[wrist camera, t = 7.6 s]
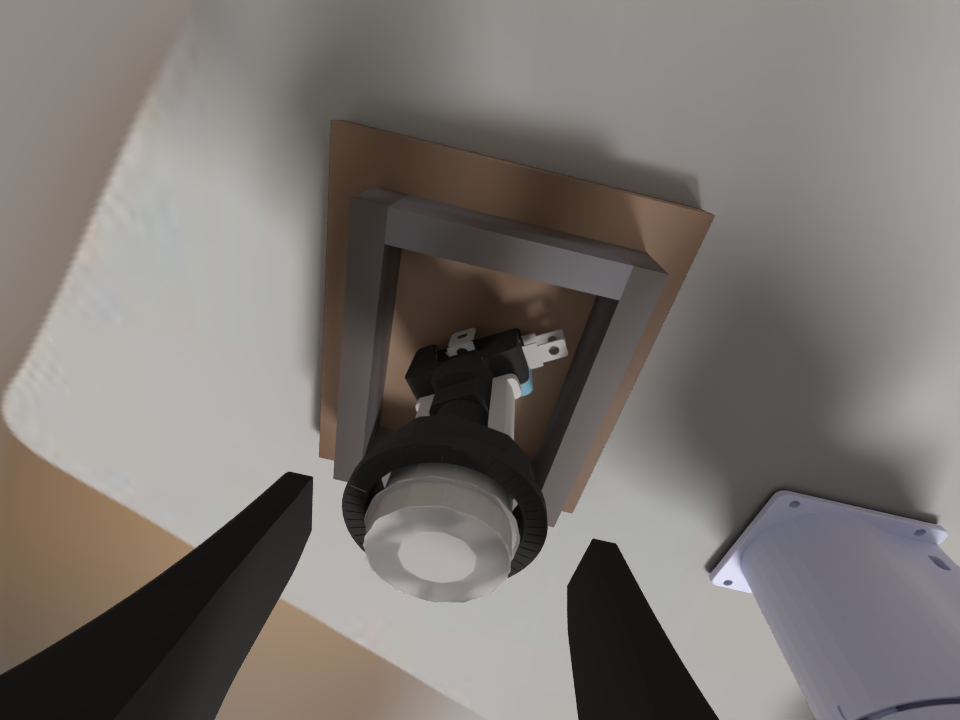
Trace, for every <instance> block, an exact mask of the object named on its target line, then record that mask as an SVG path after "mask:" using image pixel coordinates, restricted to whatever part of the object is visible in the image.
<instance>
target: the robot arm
mask: <svg viewBox="0 0 960 720" xmlns="http://www.w3.org/2000/svg"><path fill="white" fill-rule="evenodd" d="M312 496H313V477H311V476H307V475H302V474H298V473H293V472H287V473H285V474H284V475H283V476H282V477H280V478H279V479H278V480H277V481H276V482H275V483H274V484H273V485H271V486H270V487H269V488H268V489H267V490H266V491H265V492H264V493H262V494H261V495H260V496H259V497H258V498H257V499H256V500H254V501H253V502H252V503H251V504H250V505H248V506H247V507H246V508H245V509H244V510H243V511H241V512H240V513H239V514H238V515H237V516H235V517H234V518H233V519H232V520H230V521H229V522H228V523H227V524H226V525H224V526H223V527H222V528H221V529H219V530H218V531H217V532H216V533H214V534H213V535H212V536H211V537H209V538H208V539H207V540H206V541H204V542H203V543H202V544H200V545H199V546H198V547H197V548H195V549H194V550H193V551H191V552H190V553H188V554H187V555H186V556H184V557H183V558H182V559H181V560H179V561H178V562H176V563H175V564H174V565H172V566H171V567H170V568H168V569H167V570H166V571H164V572H163V573H162V574H160V575H159V576H158V577H156V578H155V579H153V580H152V581H150V582H149V583H147V584H146V585H145V586H143V587H142V588H140V589H139V590H137V591H136V592H134V593H133V594H131V595H130V596H129V597H127V598H125V599H124V600H123V601H121V602H119V603H118V604H117V605H115V606H114V607H112V608H110V609H109V610H107V611H106V612H104V613H103V614H101V615H100V616H98V617H96V618H95V619H93V620H92V621H90V622H89V623H87V624H85V625H84V626H82V627H81V628H79V629H77V630H76V631H74V632H73V633H71V634H69V635H67V636H66V637H64V638H63V639H61V640H60V641H58V642H56V643H55V644H53V645H51V646H50V647H48V648H46V649H45V650H43V651H41V652H40V653H38V654H36V655H35V656H33V657H31V658H29V659H28V660H26V661H24V662H23V663H21V664H19V665H17V666H16V667H14V668H12V669H10V670H8V671H7V672H5V673H3V674H1V675H0V720H214V719H215V717H216V715H217V713H218V711H219V709H220V707H221V704H222V702H223V700H224V698H225V696H226V694H227V692H228V689H229V688H230V686H231V684H232V682H233V680H234V678H235V676H236V674H237V672H238V670H239V668H240V667H241V665H242V663H243V661H244V659H245V658H246V656H247V654H248V652H249V651H250V649H251V647H252V645H253V644H254V642H255V640H256V638H257V637H258V635H259V633H260V631H261V629H262V628H263V626H264V624H265V622H266V620H267V619H268V617H269V615H270V613H271V612H272V610H273V608H274V606H275V605H276V603H277V601H278V599H279V597H280V596H281V594H282V592H283V590H284V588H285V587H286V585H287V583H288V581H289V579H290V578H291V576H292V574H293V572H294V570H295V568H296V565H297V563H298V561H299V559H300V556H301V554H302V552H303V550H304V547H305V545H306V542H307V540H308V538H309V535H310V533H311V531H312ZM947 536H948V532H947V531H946V530H945V529H944V528H943V527H942V526H940V525H936V524H932V523H927V522H923V521H918V520H914V519H910V518H905V517H901V516H896V515H892V514H888V513H883V512H879V511H874V510H870V509H866V508H861V507H857V506H852V505H848V504H844V503H839V502H835V501H830V500H826V499H822V498H817V497H813V496H808V495H804V494H800V493H795V492H791V491H784V490H783V491H779V492H776V493H775V494H774V495H773V496H772V497H771V499H770V500H769V501H768V502H767V504H766V505H765V506H764V507H763V509H762V510H761V511H760V512H759V514H758V515H757V516H756V517H755V519H754V520H753V521H752V522H751V524H750V525H749V526H748V527H747V529H746V530H745V531H744V532H743V534H742V535H741V536H740V537H739V539H738V540H737V541H736V542H735V544H734V545H733V546H732V547H731V549H730V550H729V551H728V552H727V554H726V555H725V556H724V557H723V559H722V560H721V561H720V562H719V563H718V565H717V566H716V567H715V568H714V570H713V571H712V572H711V573H710V575H709V578H710V580H711V583H712V584H714V585H717V586H721V587H726V588H731V589H735V590H740V591H744V592H749V593H753V595H754V597H755V599H756V601H757V603H758V605H759V607H760V609H761V611H762V613H763V615H764V617H765V619H766V621H767V623H768V625H769V627H770V629H771V631H772V633H773V635H774V637H775V639H776V641H777V643H778V645H779V647H780V649H781V651H782V653H783V655H784V657H785V659H786V661H787V663H788V665H789V667H790V669H791V671H792V673H793V675H794V677H795V679H796V681H797V683H798V685H799V687H800V689H801V691H802V693H803V695H804V697H805V699H806V701H807V703H808V705H809V707H810V709H811V711H812V713H813V715H814V717H815V719H816V720H960V568H959V567H958V566H957V565H956V564H955V563H954V562H953V561H952V560H951V559H950V558H949V557H948V556H947V555H946V554H945V553H944V552H943V551H942V550H941V549H940V548H939V547H938V546H937V545H939V544H940V543H941V542H942V541H943V540H944V539H946V537H947ZM567 617H568V636H569V645H570V654H571V662H572V671H573V679H574V687H575V695H576V703H577V711H578V719H579V720H719V719H718V717H717V716H716V714H715V713H714V711H713V710H712V708H711V707H710V705H709V704H708V702H707V701H706V699H705V697H704V696H703V694H702V693H701V691H700V690H699V688H698V687H697V685H696V683H695V682H694V680H693V679H692V677H691V675H690V674H689V672H688V671H687V669H686V667H685V666H684V664H683V663H682V661H681V659H680V658H679V656H678V654H677V653H676V651H675V649H674V648H673V646H672V644H671V642H670V641H669V639H668V637H667V635H666V634H665V632H664V630H663V629H662V627H661V625H660V623H659V622H658V620H657V618H656V616H655V615H654V613H653V611H652V609H651V607H650V606H649V604H648V602H647V600H646V598H645V596H644V595H643V593H642V591H641V589H640V587H639V585H638V584H637V582H636V580H635V578H634V576H633V574H632V572H631V570H630V569H629V567H628V565H627V563H626V561H625V559H624V557H623V555H622V553H621V552H620V550H619V548H618V546H617V545H616V544H615V543H611V542H606V541H602V540H597V539H592V541H591V543H590V545H589V547H588V548H587V550H586V552H585V554H584V556H583V558H582V560H581V561H580V563H579V565H578V567H577V569H576V571H575V573H574V574H573V576H572V578H571V580H570V582H569V584H568V586H567Z"/></svg>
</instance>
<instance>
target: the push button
mask: <svg viewBox="0 0 960 720" xmlns="http://www.w3.org/2000/svg"><path fill="white" fill-rule="evenodd" d="M475 332H476V329H475V328H469V329H466V330H463V331H459V332H456V333H454V334H453V335H452V336H451V339H450V342H449V345H448V346H449V348H446V349H443V350H440V351H439V349H438V347H437V345H429V346H426V347H423V348H421V349H419V350H418V351H417V352H416V353H415V356H414V358H413V360H412V362H411V364H410V366H409V369H408V371H407V373H406V375H405V379H406V381H407V383H408V385H409V387H410V389H411V391H412V393H413V395H414V396H415V398H416V400H417V404H416V406H415V407H416V410H417V414H416V417H415V419H413V420H412V421H410V422H409V423H407V424H405V425H404V426H402V427H401V428H399V429H397V430H396V431H394V432H393V433H391V434H390V435H388V436H386V437H385V438H383V439H382V440H380V441H379V442H377V443H376V444H375V446H374V448H373V450H372V452H370V453H369V454H368V455H366V456H365V457H364V458H363V459H362V460H361V461H360V462H359V464H358V465H357V466H356V468H355V469H354V471H353V473H352V475H351V477H350V479H349V481H348V483H347V485H346V488H345V490H344V494H343V499H342V511H343V517H344V521H345V524H346V526H347V529H348V531H349V533H350V534H351V536H352V538H353V539H354V540H355V542H356V543H357V544H358V546H359V547H360V548H361V549H362V550H363V551H364V552H365V558H366V560H367V562H368V563H369V564H370V567H371V570H373V571H374V572H375V573H376V574H377V575H378V577H379V578H380V579H381V580H383V581H384V582H386V583H387V584H389V585H390V586H392V587H393V588H394V589H395V590H398V591H400V592H402V593H403V594H406V595H409V596H413V597H417V598H420V599H423V600H426V601H431V602H467V601H470V600H473V599H476V598H479V597H483V596H486V595H489V594H491V593H492V592H494V591H495V590H496V589H497V587H499V586H500V585H501V584H502V583H503V582H504V581H505V580H506V579H507V578H508V577H511V576H513V575H514V574H516V573H518V572H520V571H521V570H522V569H524V568H525V567H526V566H528V565H529V564H530V563H531V562H532V561H533V560H534V559H535V558H536V557H537V555H538V554H539V552H540V551H541V549H542V547H543V545H544V542H545V539H546V536H547V529H548V521H547V509H546V502H545V499H544V496H543V494H542V491H541V489H540V487H539V486H538V484H537V482H536V481H535V479H534V478H533V477H532V471H531V462H530V459H529V457H528V455H527V454H526V453H525V452H524V451H523V450H522V449H521V448H520V447H519V446H518V444H517V443H516V442H515V441H514V415H515V399H517V398H519V397H521V396H525V395H528V394H530V393H531V392H532V390H533V382H532V369H534V368H538V367H542V366H543V363H544V362H548V361H551V360H555V359H559V358H562V357H566V356H567V355H568V350H567V347H566V341H565V337H564V334H563V331H562V330H561V329H557V330H553V331H550V332H546V333H543V334H540V335H536V334H535V333H531V334H528V335H524V336H522V335H521V332H520V329H519V328H514V329H510V330H507V331H504V332H500V333H497V334H494V335H490V336H487V337H483V338H480V339H477V340H474V336H475ZM464 334H468V335H467V336H465V337H463V338H460V339H458V337H460V336H461V335H464ZM551 336H555V337H556V338H557V340H554V341H551V342H548V341H547V340H548V338H549V337H551ZM555 348H559V352H558V353H557V354H551V353H550V352H549V350H552V349H555ZM390 472H391V474H390V476H389V479H388V481H387V484H386V487H385V488H384V485H383V482H382V477H384V476H385V475H387V474H388V473H390ZM513 497H514V499H515V500H516V502H517V503H518V504H517V506H516V507H515V508H514V509H513V511H512V506H513Z"/></svg>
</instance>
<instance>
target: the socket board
mask: <svg viewBox="0 0 960 720" xmlns="http://www.w3.org/2000/svg"><path fill="white" fill-rule="evenodd" d="M714 217H715V215H713V214H711V213H709V212H706V211H704V210H701V209H697V208H693V207H689V206H685V205H681V204H677V203H673V202H669V201H665V200H661V199H657V198H653V197H649V196H645V195H641V194H637V193H633V192H629V191H625V190H621V189H617V188H613V187H609V186H605V185H601V184H597V183H593V182H589V181H585V180H581V179H577V178H573V177H569V176H565V175H561V174H557V173H553V172H549V171H545V170H541V169H537V168H533V167H529V166H525V165H521V164H517V163H513V162H509V161H504V160H500V159H496V158H492V157H488V156H484V155H480V154H476V153H472V152H468V151H464V150H460V149H456V148H452V147H448V146H444V145H440V144H436V143H432V142H428V141H424V140H420V139H416V138H412V137H408V136H404V135H400V134H396V133H392V132H388V131H384V130H380V129H376V128H372V127H368V126H364V125H360V124H356V123H352V122H348V121H344V120H331V138H330V165H329V193H328V221H327V249H326V277H325V304H324V332H323V360H322V388H321V416H320V443H319V457H321V458H325V459H330V460H334V477H333V479H337V480H341V481H346V482H348V481H349V479H350V477H351V475H352V473H353V471H354V469H355V468H356V466H357V465H358V464H359V462H360V461H361V460H362V459H363V458H364V457H365V456H366V455H368V454H369V453H370V452H372V450H373V448H374V446H375V444H376V443H377V442H379V441H380V440H382V439H383V438H385V437H386V436H388V435H390V434H391V433H393V432H394V431H396V430H397V429H399V428H401V427H402V426H404V425H405V424H407V423H409V422H410V421H412V420H413V419H415V417H416V414H417V410H416V407H415V406H416V404H417V400H416V398H415V396H414V395H413V393H412V391H411V389H410V387H409V385H408V383H407V381H406V379H405V375H406V373H407V371H408V369H409V366H410V364H411V362H412V360H413V358H414V356H415V353H416V352H417V351H418V350H419V349H421V348H423V347H426V346H429V345H437V347H438V349H439V351H440V350H443V349H446V348H449V346H448V345H449V342H450V339H451V336H452V335H453V334H454V333H456V332H459V331H463V330H466V329H469V328H475V329H476V332H475V336H474V340H477V339H480V338H483V337H487V336H490V335H494V334H497V333H500V332H504V331H507V330H510V329H514V328H519V329H520V332H521V335H522V336H524V335H528V334H531V333H535V334H536V335H540V334H543V333H546V332H550V331H553V330H557V329H561V330H562V331H563V334H564V337H565V341H566V347H567V350H568V355H567V356H566V357H562V358H559V359H555V360H551V361H548V362H544V363H543V366H542V367H538V368H534V369H532V382H533V390H532V392H531V393H530V394H528V395H525V396H521V397H519V398H517V399H515V415H514V441H515V442H516V443H517V444H518V446H519V447H520V448H521V449H522V450H523V451H524V452H525V453H526V454H527V455H528V457H529V459H530V462H531V471H532V477H533V478H534V479H535V481H536V482H537V484H538V486H539V487H540V489H541V491H542V494H543V496H544V499H545V502H546V509H547V521H548V526H550V527H554V526H555V524H556V522H557V520H558V517H559V515H560V513H561V511H564V512H569V513H573V511H574V509H575V507H576V505H577V503H578V501H579V498H580V496H581V494H582V492H583V490H584V488H585V486H586V484H587V482H588V480H589V478H590V476H591V473H592V471H593V469H594V467H595V465H596V463H597V461H598V459H599V457H600V455H601V453H602V450H603V448H604V446H605V444H606V442H607V440H608V438H609V436H610V434H611V432H612V430H613V427H614V425H615V423H616V421H617V419H618V417H619V415H620V413H621V411H622V409H623V407H624V404H625V402H626V400H627V398H628V396H629V394H630V392H631V390H632V388H633V386H634V384H635V382H636V379H637V377H638V375H639V373H640V371H641V369H642V367H643V365H644V363H645V361H646V359H647V356H648V354H649V352H650V350H651V348H652V346H653V344H654V342H655V340H656V338H657V336H658V333H659V331H660V329H661V327H662V325H663V323H664V321H665V319H666V317H667V315H668V313H669V311H670V308H671V306H672V304H673V302H674V300H675V298H676V296H677V294H678V292H679V290H680V288H681V285H682V283H683V281H684V279H685V277H686V275H687V273H688V271H689V269H690V267H691V265H692V262H693V260H694V258H695V256H696V254H697V252H698V250H699V248H700V246H701V244H702V242H703V239H704V237H705V235H706V233H707V231H708V229H709V227H710V225H711V223H712V221H713V219H714ZM467 335H468V334H464V335H461V336H460V337H458V339H460V338H463V337H465V336H467ZM554 340H557V338H556V337H555V336H551V337H549V338H548V340H547V341H548V342H551V341H554ZM549 352H550V353H551V354H557V353H558V352H559V348H555V349H552V350H549ZM390 474H391V472H390V473H388V474H387V475H385V476H384V477H382V482H383V485H384V488H385V487H386V484H387V481H388V479H389V476H390ZM517 504H518V503H517V502H516V500H515V499H514V497H513V506H512V511H513V509H514V508H515V507H516V506H517Z"/></svg>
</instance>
